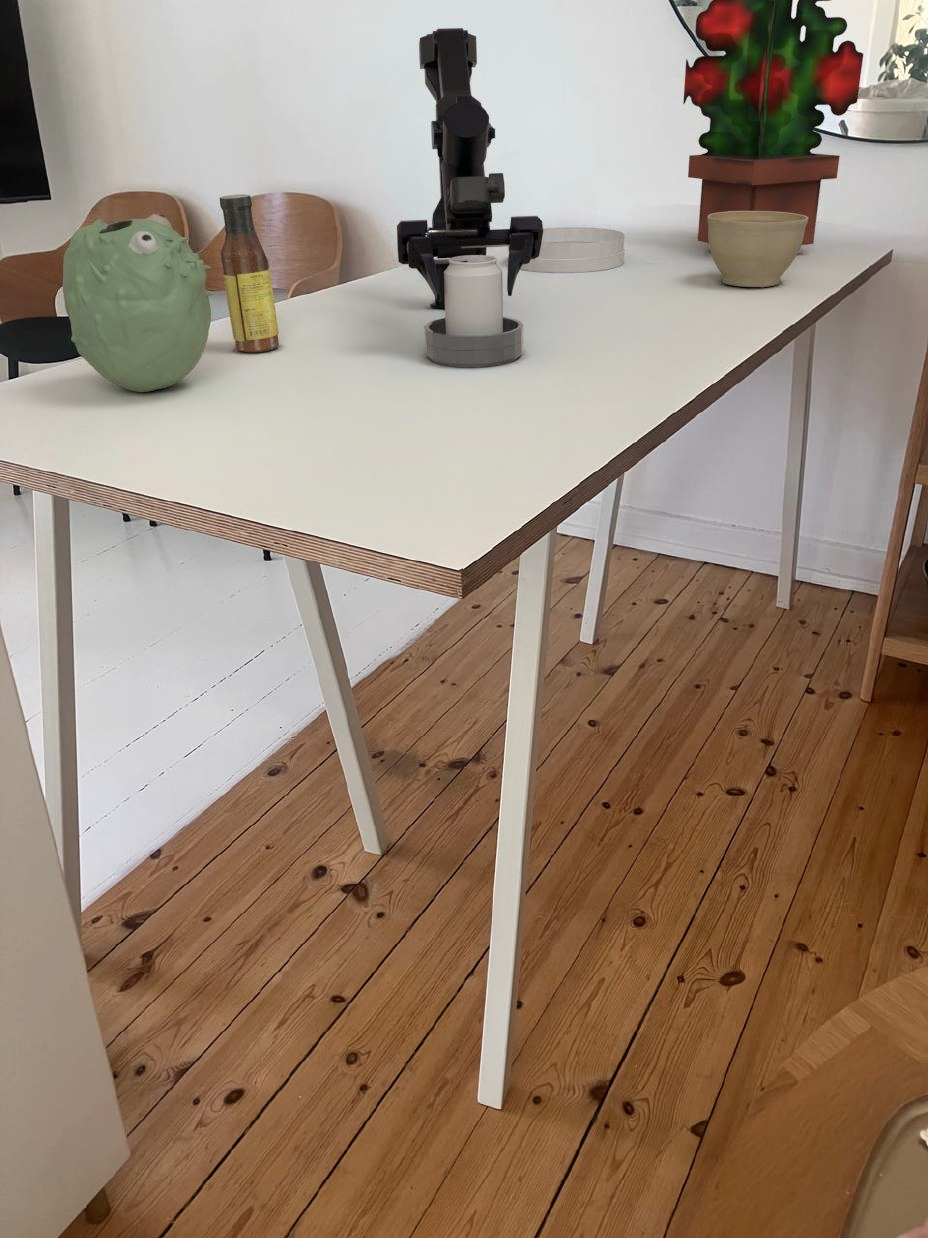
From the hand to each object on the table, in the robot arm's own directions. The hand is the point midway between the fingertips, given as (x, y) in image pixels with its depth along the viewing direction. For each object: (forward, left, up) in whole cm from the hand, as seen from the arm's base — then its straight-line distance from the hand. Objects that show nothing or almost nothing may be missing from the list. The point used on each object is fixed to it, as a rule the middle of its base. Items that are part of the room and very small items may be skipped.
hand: (474, 295), depth 135 cm
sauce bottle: (-31, -7, -8) cm, 33 cm away
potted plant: (+11, +96, -8) cm, 97 cm away
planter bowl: (+19, +64, -8) cm, 68 cm away
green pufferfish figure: (-30, -29, -8) cm, 42 cm away
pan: (-1, +1, -8) cm, 8 cm away
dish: (-19, +73, -8) cm, 76 cm away
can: (-1, +1, -8) cm, 8 cm away
